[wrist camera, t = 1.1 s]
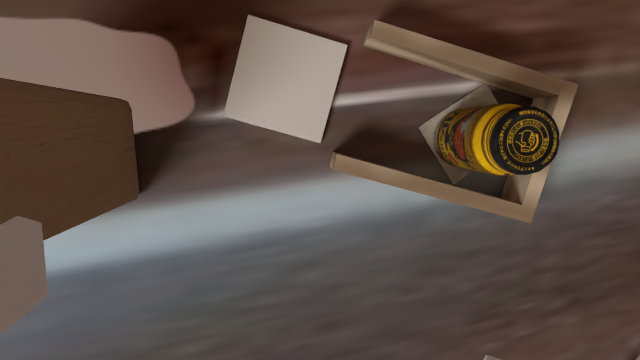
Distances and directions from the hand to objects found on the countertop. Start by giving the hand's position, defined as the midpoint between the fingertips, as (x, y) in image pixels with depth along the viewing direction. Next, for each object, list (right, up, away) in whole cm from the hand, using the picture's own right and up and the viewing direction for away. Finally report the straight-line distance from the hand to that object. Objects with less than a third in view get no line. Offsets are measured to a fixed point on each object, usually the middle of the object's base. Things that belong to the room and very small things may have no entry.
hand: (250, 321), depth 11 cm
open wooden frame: (+14, +10, +29) cm, 34 cm away
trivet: (-1, +14, +28) cm, 31 cm away
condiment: (+18, +9, +30) cm, 36 cm away
